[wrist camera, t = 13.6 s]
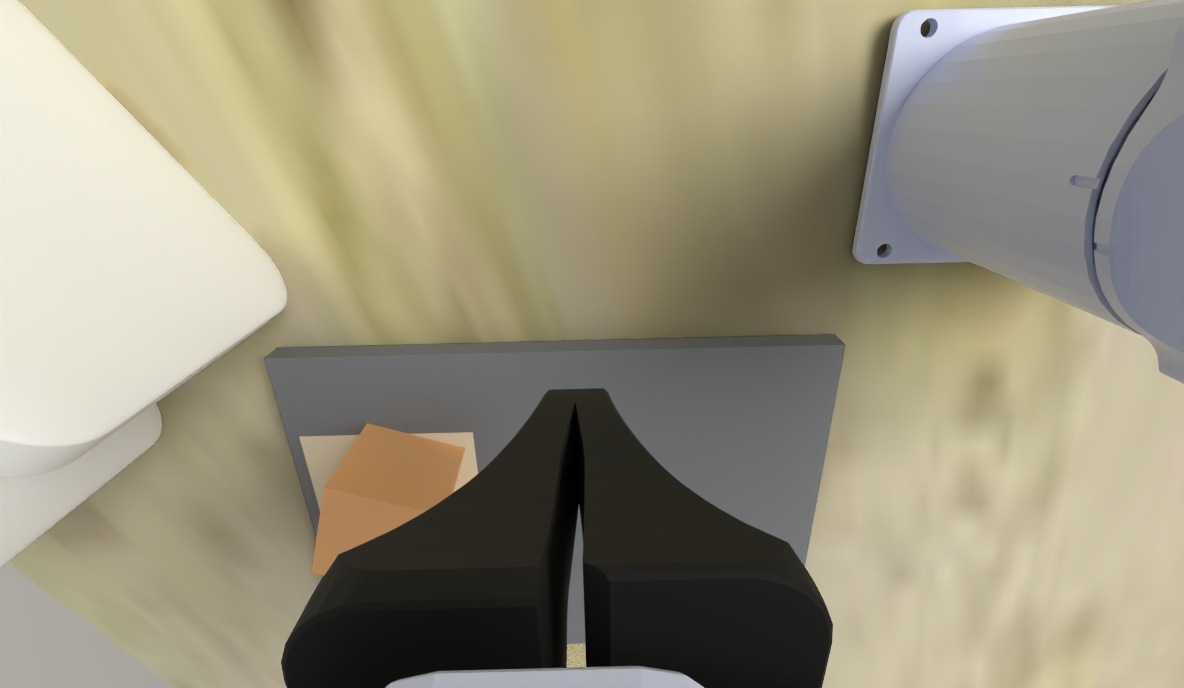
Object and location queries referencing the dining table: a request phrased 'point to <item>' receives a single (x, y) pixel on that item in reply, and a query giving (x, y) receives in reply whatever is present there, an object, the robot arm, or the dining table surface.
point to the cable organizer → (99, 282)
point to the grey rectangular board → (622, 367)
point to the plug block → (382, 489)
